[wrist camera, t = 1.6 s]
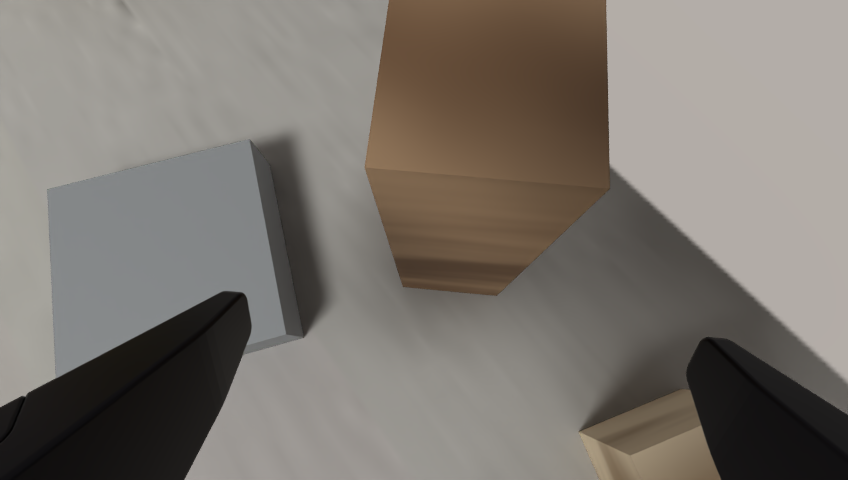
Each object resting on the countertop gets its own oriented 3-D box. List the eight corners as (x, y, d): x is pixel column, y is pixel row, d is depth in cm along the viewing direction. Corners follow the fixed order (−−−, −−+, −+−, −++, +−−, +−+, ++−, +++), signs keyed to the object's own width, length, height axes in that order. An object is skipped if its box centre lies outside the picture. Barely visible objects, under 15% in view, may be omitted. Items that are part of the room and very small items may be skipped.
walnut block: (496, 295, 20) (610, 188, 8) (403, 286, 20) (364, 167, 8) (501, 207, 21) (605, -11, 9) (412, 199, 22) (392, -26, 9)
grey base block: (306, 337, 20) (286, 334, 17) (111, 392, 20) (56, 398, 17) (272, 167, 22) (249, 139, 20) (97, 212, 22) (47, 189, 19)
